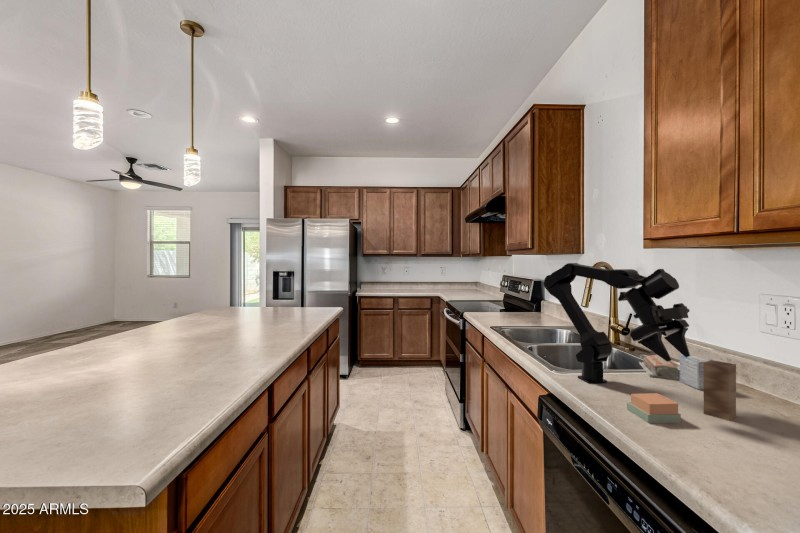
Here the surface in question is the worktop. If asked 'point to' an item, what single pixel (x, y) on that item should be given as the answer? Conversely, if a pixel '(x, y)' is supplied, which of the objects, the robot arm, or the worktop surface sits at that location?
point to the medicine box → (692, 371)
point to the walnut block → (720, 389)
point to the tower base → (653, 415)
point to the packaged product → (660, 368)
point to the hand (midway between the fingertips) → (678, 358)
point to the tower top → (654, 403)
